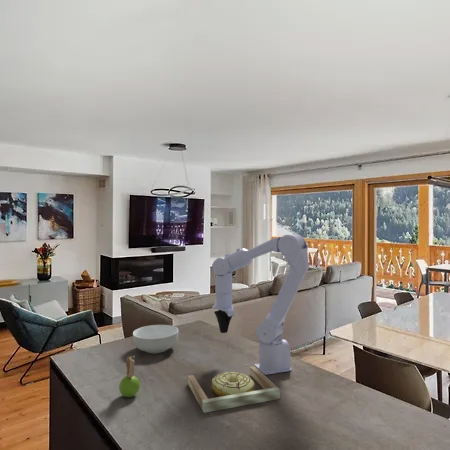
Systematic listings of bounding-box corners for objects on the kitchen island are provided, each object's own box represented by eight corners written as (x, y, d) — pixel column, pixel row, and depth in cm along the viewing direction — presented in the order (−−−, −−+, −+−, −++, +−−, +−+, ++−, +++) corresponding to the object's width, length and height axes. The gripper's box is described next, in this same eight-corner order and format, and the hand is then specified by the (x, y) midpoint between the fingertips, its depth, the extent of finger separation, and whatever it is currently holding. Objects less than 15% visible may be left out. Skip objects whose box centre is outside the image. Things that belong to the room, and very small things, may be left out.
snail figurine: (122, 404, 93) (122, 358, 93) (117, 394, 98) (117, 350, 98) (143, 399, 95) (143, 354, 95) (137, 389, 101) (137, 347, 101)
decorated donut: (240, 407, 92) (240, 391, 92) (203, 394, 98) (203, 380, 98) (261, 389, 101) (261, 375, 101) (226, 379, 108) (226, 366, 107)
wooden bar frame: (254, 374, 111) (254, 366, 111) (279, 398, 95) (279, 389, 95) (188, 384, 104) (188, 375, 104) (203, 412, 88) (203, 402, 88)
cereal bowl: (142, 341, 142) (142, 323, 142) (183, 343, 140) (183, 325, 140) (125, 357, 125) (124, 337, 125) (171, 359, 123) (171, 339, 123)
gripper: (206, 289, 128) (206, 327, 128) (219, 297, 114) (219, 340, 114) (224, 288, 130) (224, 325, 131) (240, 296, 117) (240, 337, 117)
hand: (223, 332), depth 123 cm, fingers closed
